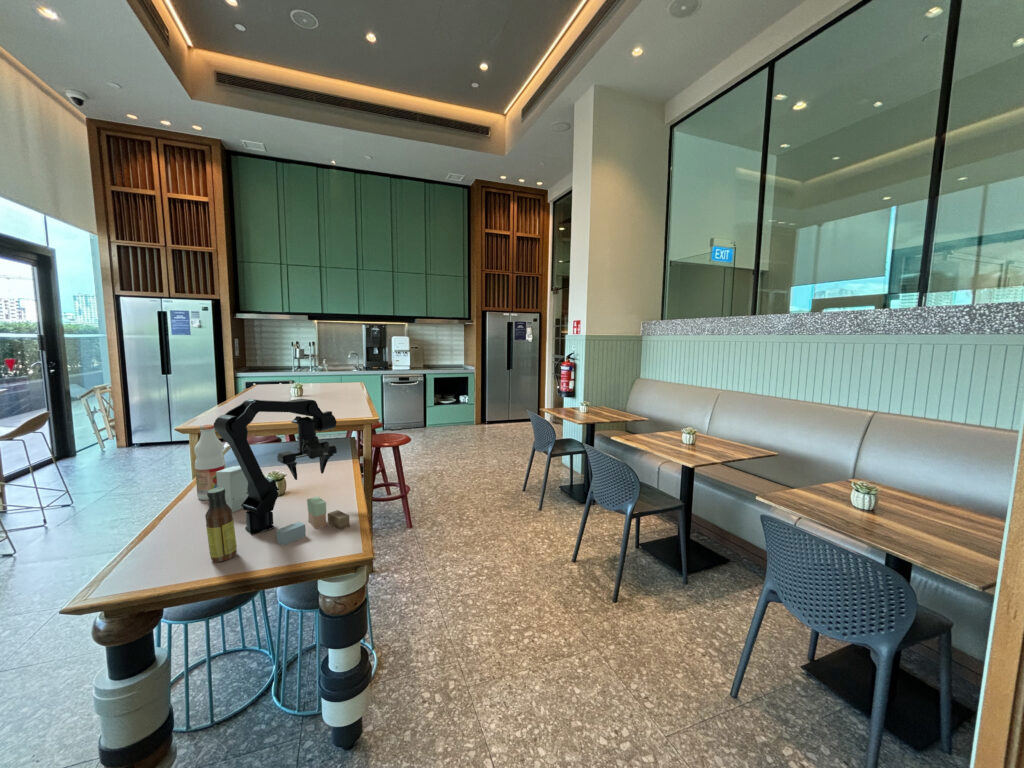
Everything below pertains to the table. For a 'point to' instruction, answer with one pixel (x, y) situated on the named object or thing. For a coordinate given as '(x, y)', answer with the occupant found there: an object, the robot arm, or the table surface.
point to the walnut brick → (338, 520)
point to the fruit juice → (208, 461)
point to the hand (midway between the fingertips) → (309, 476)
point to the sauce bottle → (220, 527)
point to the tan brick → (317, 520)
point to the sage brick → (316, 506)
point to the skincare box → (233, 486)
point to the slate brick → (290, 533)
